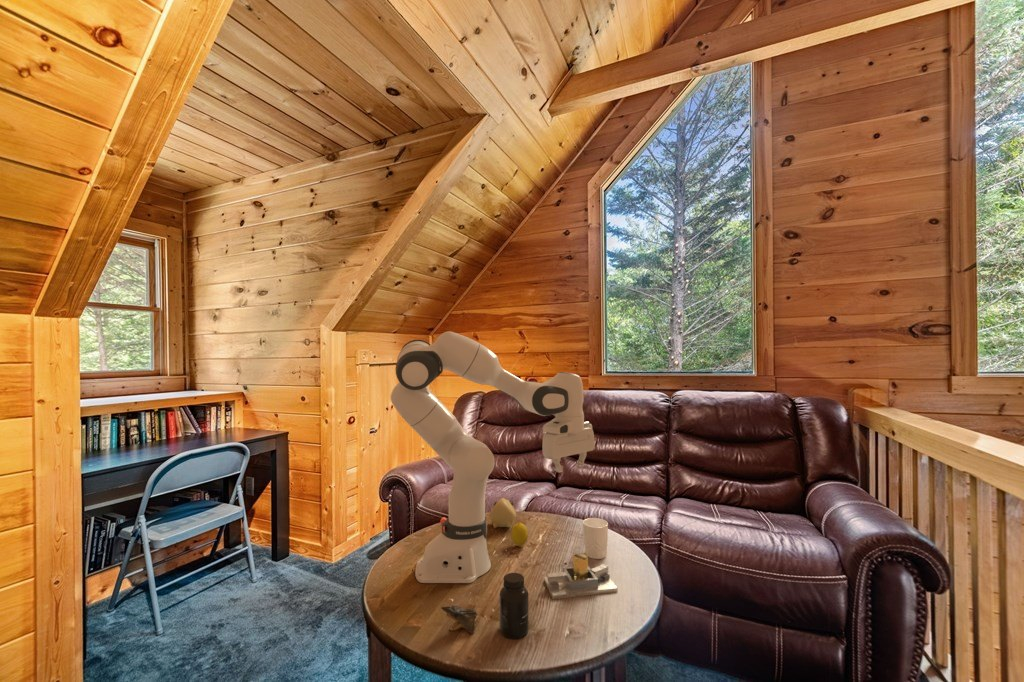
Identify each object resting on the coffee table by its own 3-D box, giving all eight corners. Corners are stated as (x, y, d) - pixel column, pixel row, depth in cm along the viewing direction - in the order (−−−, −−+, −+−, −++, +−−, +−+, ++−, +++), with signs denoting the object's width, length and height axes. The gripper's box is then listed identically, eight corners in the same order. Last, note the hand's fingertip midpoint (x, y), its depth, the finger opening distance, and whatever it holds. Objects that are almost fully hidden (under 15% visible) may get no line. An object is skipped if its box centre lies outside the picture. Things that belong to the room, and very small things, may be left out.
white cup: (610, 560, 129) (610, 527, 129) (585, 560, 129) (584, 527, 129) (605, 548, 136) (605, 517, 137) (581, 548, 137) (581, 517, 137)
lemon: (511, 542, 141) (511, 518, 142) (527, 542, 141) (527, 518, 141) (510, 550, 136) (510, 525, 136) (527, 550, 136) (527, 525, 136)
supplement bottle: (530, 639, 94) (529, 584, 94) (500, 641, 93) (499, 586, 93) (527, 619, 100) (526, 569, 101) (498, 621, 100) (498, 570, 100)
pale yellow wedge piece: (517, 520, 160) (516, 492, 161) (515, 533, 148) (514, 503, 149) (491, 519, 161) (491, 492, 161) (488, 533, 149) (487, 503, 149)
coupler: (570, 582, 114) (570, 556, 115) (579, 577, 117) (579, 551, 117) (582, 588, 111) (581, 561, 112) (591, 583, 114) (590, 556, 114)
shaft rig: (552, 599, 109) (552, 584, 109) (544, 580, 117) (544, 567, 118) (617, 591, 112) (617, 577, 112) (604, 574, 120) (604, 561, 121)
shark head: (445, 644, 94) (442, 617, 93) (441, 622, 100) (439, 597, 99) (479, 634, 96) (477, 608, 95) (474, 613, 102) (472, 588, 101)
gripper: (584, 419, 138) (584, 461, 138) (538, 426, 125) (539, 472, 125) (599, 421, 133) (599, 465, 133) (553, 429, 120) (554, 477, 120)
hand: (570, 469), depth 129 cm, fingers open, 8 cm apart
